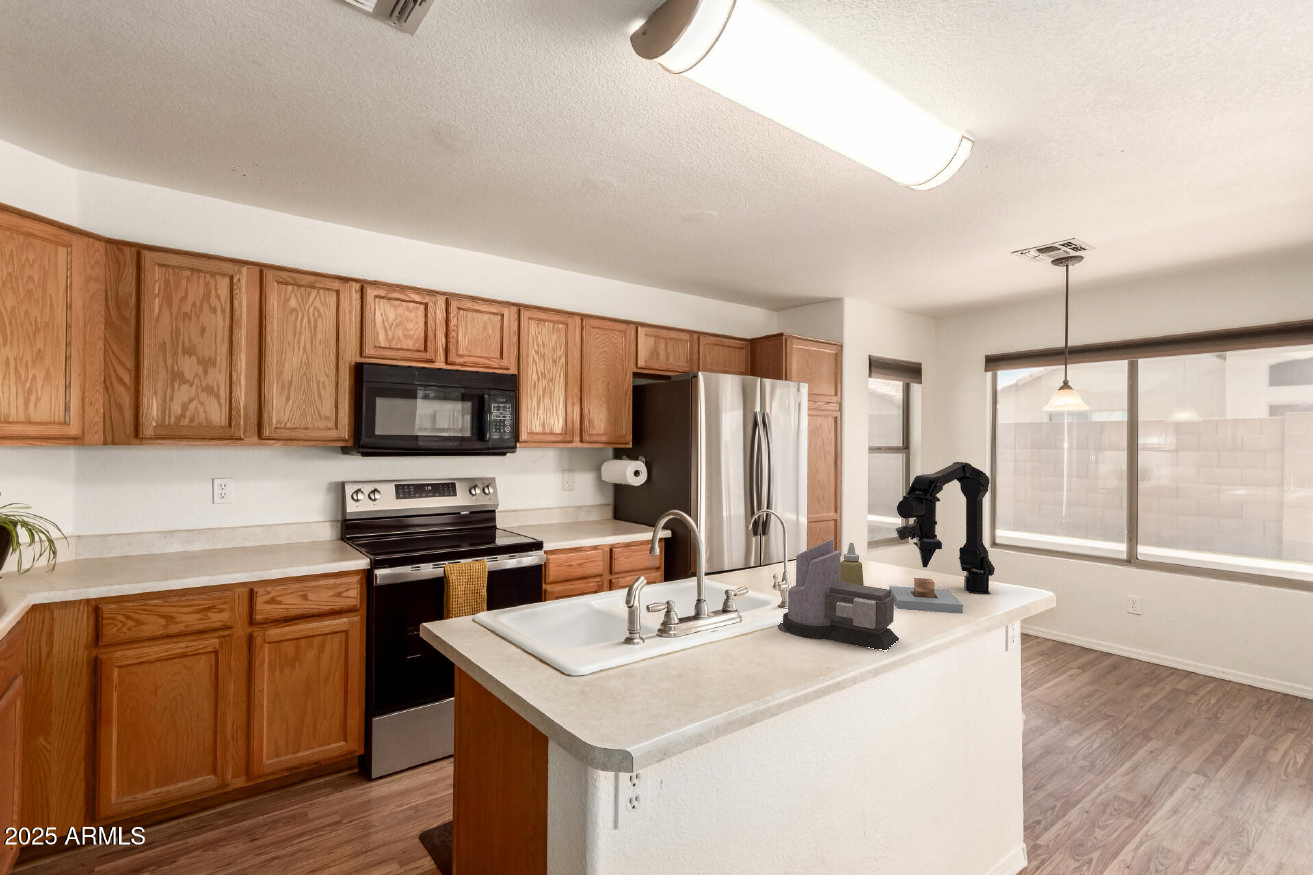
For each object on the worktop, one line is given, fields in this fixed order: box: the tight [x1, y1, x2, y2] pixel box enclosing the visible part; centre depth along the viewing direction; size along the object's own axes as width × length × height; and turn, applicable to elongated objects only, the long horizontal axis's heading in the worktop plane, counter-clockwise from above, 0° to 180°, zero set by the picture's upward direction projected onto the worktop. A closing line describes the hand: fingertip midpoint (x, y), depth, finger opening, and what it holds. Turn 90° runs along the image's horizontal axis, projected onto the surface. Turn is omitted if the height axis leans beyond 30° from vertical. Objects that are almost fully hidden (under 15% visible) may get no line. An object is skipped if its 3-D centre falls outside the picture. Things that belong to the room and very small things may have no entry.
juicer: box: [777, 538, 900, 650], centre depth 166 cm, size 30×16×24 cm, turn 55°
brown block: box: [913, 577, 935, 598], centre depth 197 cm, size 5×5×6 cm
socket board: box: [888, 585, 964, 614], centre depth 197 cm, size 18×18×2 cm
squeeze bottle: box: [840, 542, 865, 586], centre depth 198 cm, size 8×8×18 cm
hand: (924, 567), depth 197 cm, fingers closed
